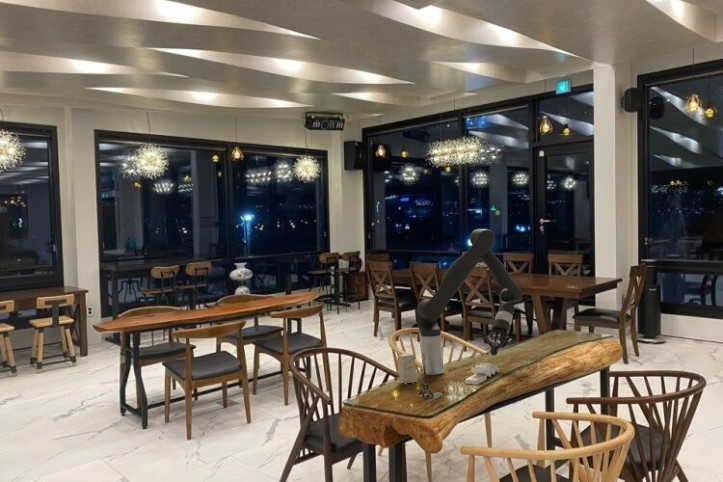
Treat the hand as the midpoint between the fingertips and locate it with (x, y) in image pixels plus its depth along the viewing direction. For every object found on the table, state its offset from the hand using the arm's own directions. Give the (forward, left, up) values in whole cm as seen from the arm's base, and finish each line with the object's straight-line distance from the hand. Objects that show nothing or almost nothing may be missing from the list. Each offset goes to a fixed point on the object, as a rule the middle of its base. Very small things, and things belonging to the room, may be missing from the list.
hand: (493, 354), depth 251 cm
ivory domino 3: (-2, -4, -7) cm, 8 cm away
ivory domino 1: (-5, -8, -7) cm, 11 cm away
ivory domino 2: (-7, -11, -7) cm, 15 cm away
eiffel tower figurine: (-30, -35, -8) cm, 47 cm away
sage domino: (0, 0, -7) cm, 7 cm away
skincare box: (-38, -13, -8) cm, 41 cm away
